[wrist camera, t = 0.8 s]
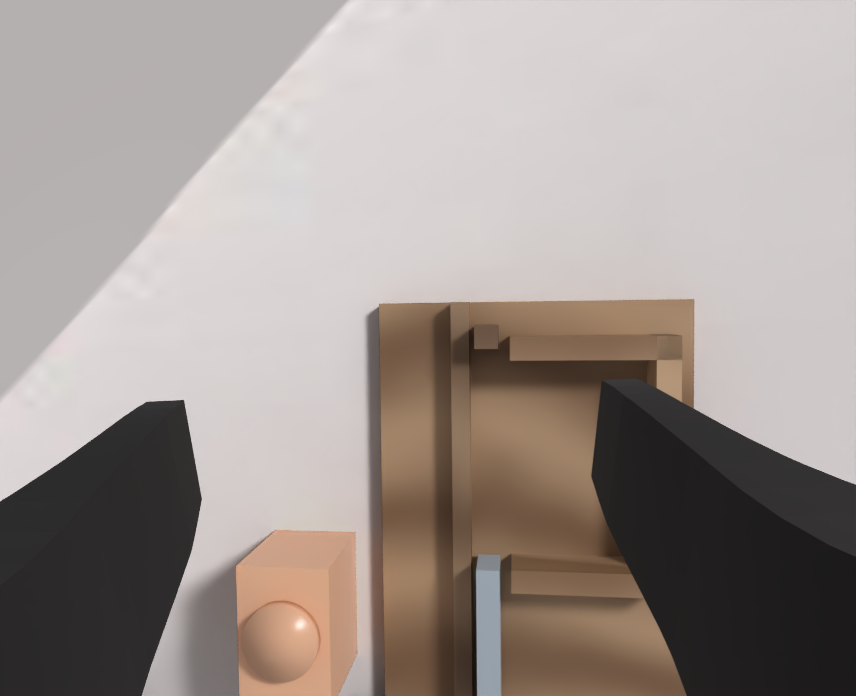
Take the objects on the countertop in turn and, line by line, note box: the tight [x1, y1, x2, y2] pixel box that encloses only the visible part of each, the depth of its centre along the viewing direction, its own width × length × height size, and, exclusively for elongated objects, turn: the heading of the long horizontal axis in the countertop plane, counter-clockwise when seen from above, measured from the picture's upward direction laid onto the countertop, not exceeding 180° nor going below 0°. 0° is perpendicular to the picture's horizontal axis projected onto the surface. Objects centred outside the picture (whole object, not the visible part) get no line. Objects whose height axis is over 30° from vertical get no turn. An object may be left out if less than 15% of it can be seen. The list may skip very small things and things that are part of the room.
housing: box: [379, 299, 694, 696], centre depth 31 cm, size 21×14×3 cm, turn 1°
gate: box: [476, 554, 501, 696], centre depth 32 cm, size 9×8×3 cm
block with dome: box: [236, 530, 358, 696], centre depth 32 cm, size 6×4×6 cm, turn 1°
